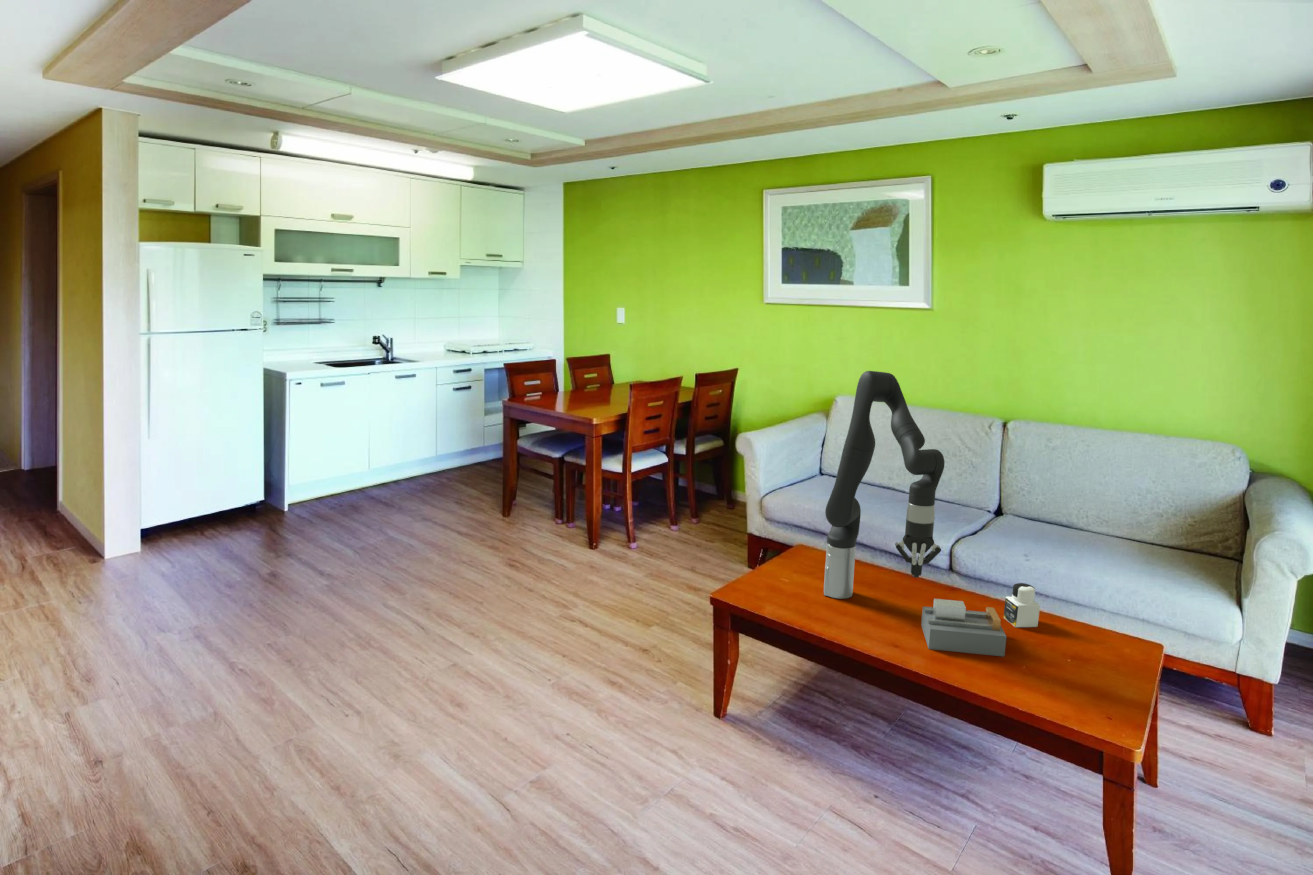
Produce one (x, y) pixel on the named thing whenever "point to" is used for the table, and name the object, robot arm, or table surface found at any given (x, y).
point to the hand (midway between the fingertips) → (915, 576)
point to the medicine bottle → (1022, 606)
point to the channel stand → (965, 633)
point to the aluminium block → (949, 610)
